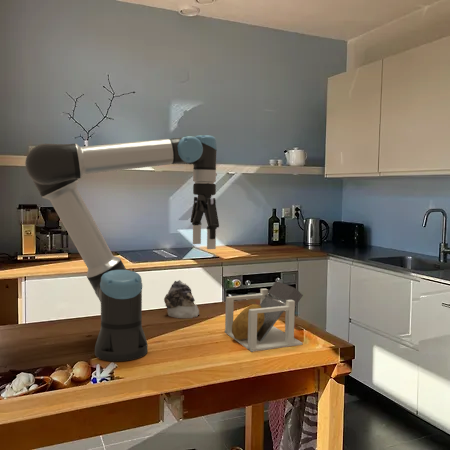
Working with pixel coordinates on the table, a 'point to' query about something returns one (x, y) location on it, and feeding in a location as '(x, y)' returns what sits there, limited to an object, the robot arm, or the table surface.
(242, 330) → the potato
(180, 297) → the stone
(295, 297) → the flap
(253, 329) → the frame
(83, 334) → the table surface
